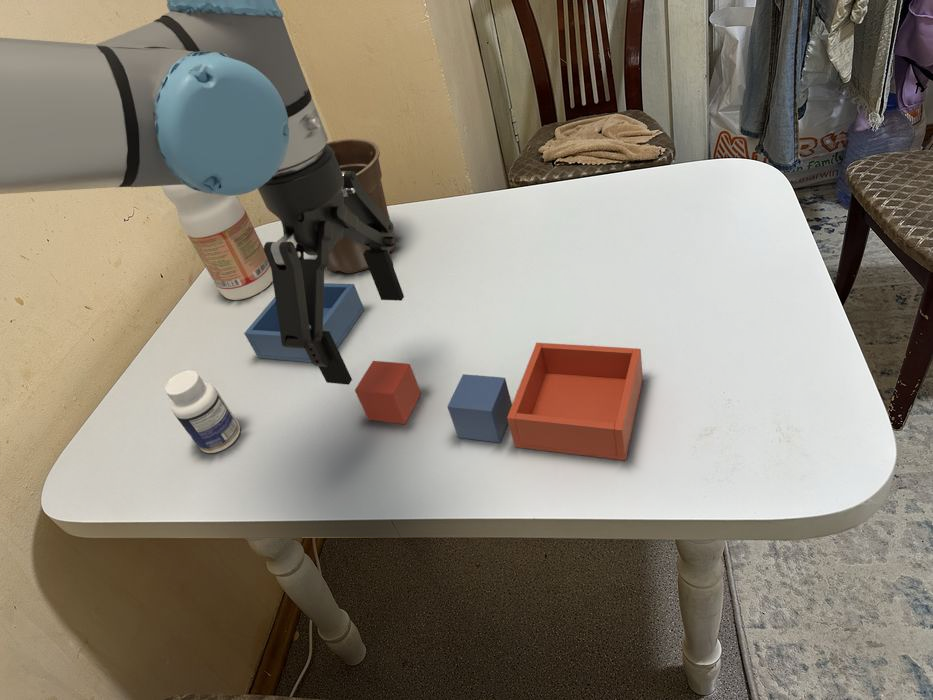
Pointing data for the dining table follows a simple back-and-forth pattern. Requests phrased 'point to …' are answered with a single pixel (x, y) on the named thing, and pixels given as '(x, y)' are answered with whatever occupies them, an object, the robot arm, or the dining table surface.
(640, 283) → the dining table surface
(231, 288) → the fruit juice
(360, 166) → the plant pot
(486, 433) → the blue block
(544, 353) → the red bin
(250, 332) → the blue bin
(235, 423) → the pill bottle
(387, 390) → the red block
